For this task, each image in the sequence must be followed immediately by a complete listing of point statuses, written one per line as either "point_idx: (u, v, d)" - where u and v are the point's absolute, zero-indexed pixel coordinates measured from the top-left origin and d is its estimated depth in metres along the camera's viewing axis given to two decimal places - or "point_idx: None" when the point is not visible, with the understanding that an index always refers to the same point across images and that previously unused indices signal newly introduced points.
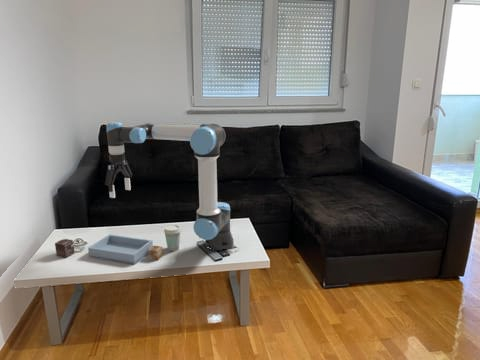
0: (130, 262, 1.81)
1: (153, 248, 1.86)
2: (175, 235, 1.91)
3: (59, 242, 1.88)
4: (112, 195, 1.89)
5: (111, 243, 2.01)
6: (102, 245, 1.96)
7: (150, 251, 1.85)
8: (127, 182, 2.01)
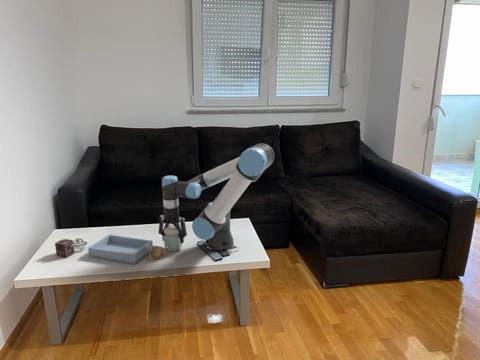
0: (130, 262, 1.81)
1: (153, 248, 1.86)
2: (175, 235, 1.91)
3: (59, 242, 1.88)
4: None
5: (111, 243, 2.01)
6: (102, 245, 1.96)
7: (150, 251, 1.85)
8: None
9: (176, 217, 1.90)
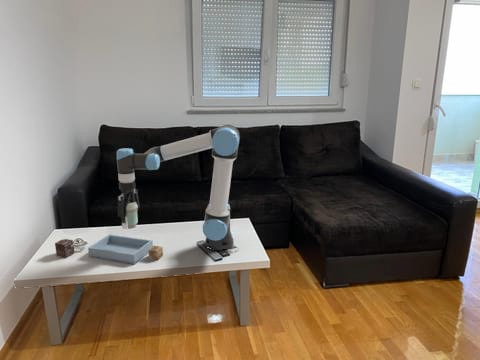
0: (130, 262, 1.81)
1: (153, 248, 1.86)
2: None
3: (59, 242, 1.88)
4: (125, 226, 1.82)
5: (111, 243, 2.01)
6: (102, 245, 1.96)
7: (150, 251, 1.85)
8: None
9: (133, 189, 1.84)
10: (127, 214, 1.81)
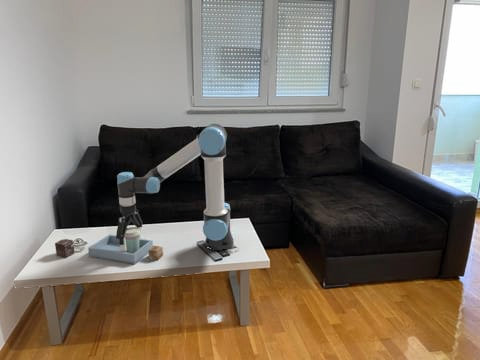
0: (130, 262, 1.81)
1: (153, 248, 1.86)
2: None
3: (59, 242, 1.88)
4: (123, 248, 1.82)
5: (111, 243, 2.01)
6: (102, 245, 1.96)
7: (150, 251, 1.85)
8: None
9: (133, 212, 1.87)
10: (130, 241, 1.85)
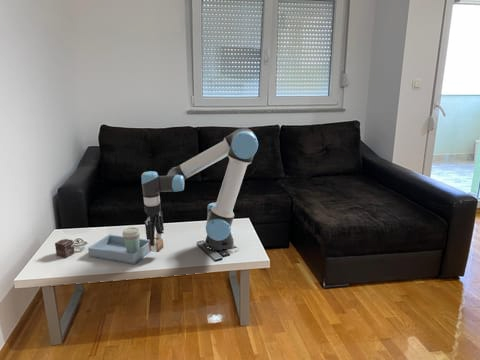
0: (130, 262, 1.81)
1: None
2: None
3: (59, 242, 1.88)
4: (154, 249, 1.83)
5: (111, 243, 2.01)
6: (102, 245, 1.96)
7: None
8: None
9: (158, 212, 1.84)
10: (130, 241, 1.85)
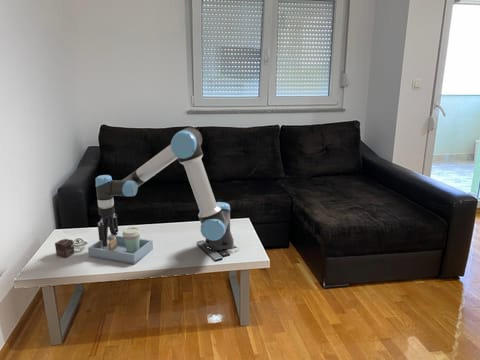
0: (130, 262, 1.81)
1: None
2: None
3: (59, 242, 1.88)
4: (106, 249, 1.90)
5: None
6: None
7: None
8: None
9: (112, 214, 1.92)
10: (130, 241, 1.85)
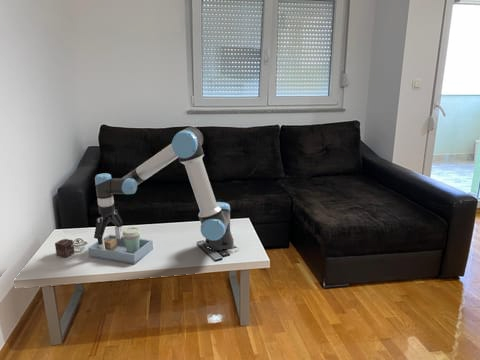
0: (130, 262, 1.81)
1: (107, 240, 1.92)
2: None
3: (59, 242, 1.88)
4: (102, 247, 1.86)
5: None
6: None
7: None
8: (117, 231, 1.98)
9: (112, 212, 1.91)
10: (130, 241, 1.85)
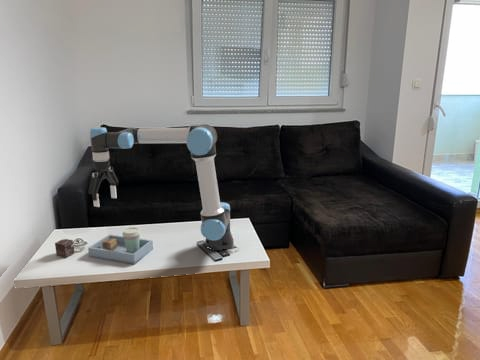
0: (130, 262, 1.81)
1: (107, 240, 1.92)
2: None
3: (59, 242, 1.88)
4: (96, 204, 1.80)
5: None
6: None
7: (103, 243, 1.91)
8: (113, 190, 1.92)
9: (108, 169, 1.85)
10: (130, 241, 1.85)
